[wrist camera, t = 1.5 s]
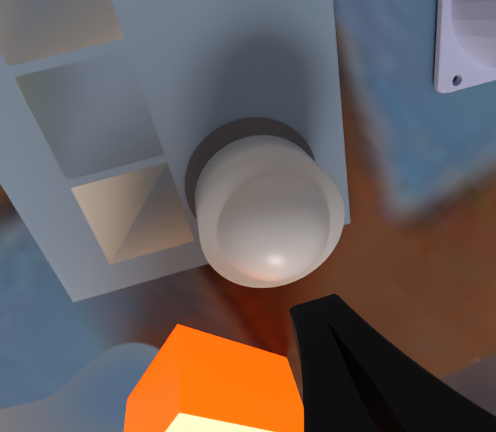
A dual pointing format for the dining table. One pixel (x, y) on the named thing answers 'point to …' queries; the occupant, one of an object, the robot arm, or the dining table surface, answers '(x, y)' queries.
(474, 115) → the dining table surface
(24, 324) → the dining table surface
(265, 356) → the orange juice
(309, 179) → the dome
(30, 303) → the dining table surface
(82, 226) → the board
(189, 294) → the dining table surface
